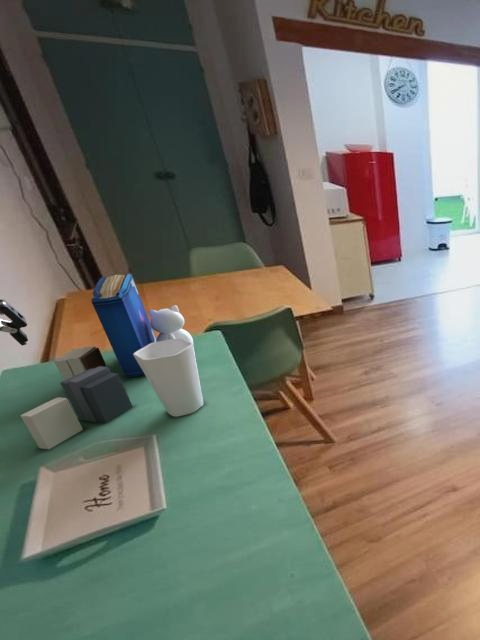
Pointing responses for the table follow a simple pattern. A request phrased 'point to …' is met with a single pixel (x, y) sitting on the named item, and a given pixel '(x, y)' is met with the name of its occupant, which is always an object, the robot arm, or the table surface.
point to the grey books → (97, 395)
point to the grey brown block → (79, 361)
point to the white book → (52, 422)
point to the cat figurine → (169, 324)
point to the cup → (172, 374)
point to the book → (123, 319)
